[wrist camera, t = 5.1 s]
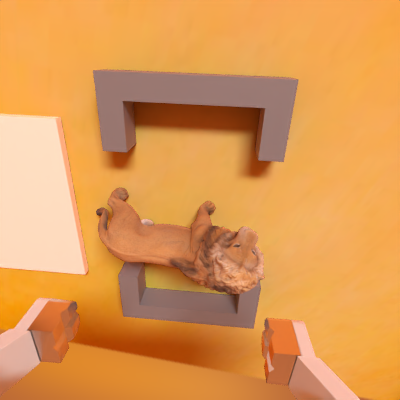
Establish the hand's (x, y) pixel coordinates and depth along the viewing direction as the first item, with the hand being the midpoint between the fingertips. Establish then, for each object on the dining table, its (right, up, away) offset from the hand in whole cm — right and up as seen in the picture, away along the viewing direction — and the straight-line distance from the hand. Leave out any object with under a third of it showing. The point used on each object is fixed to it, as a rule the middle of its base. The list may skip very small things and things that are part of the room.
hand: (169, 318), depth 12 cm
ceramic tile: (-13, +5, +10) cm, 17 cm away
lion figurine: (-1, +4, +9) cm, 10 cm away
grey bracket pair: (+1, +4, +9) cm, 10 cm away
